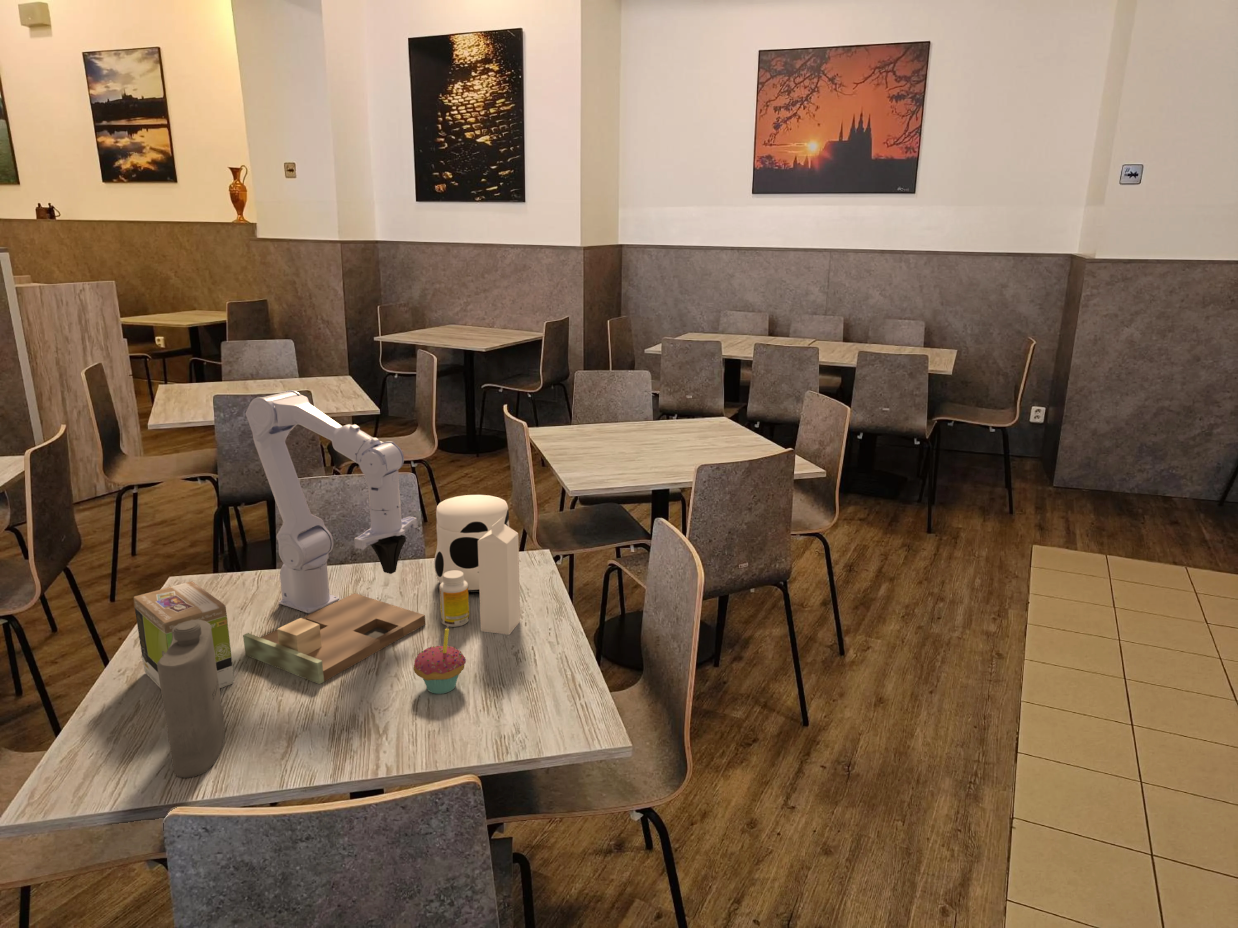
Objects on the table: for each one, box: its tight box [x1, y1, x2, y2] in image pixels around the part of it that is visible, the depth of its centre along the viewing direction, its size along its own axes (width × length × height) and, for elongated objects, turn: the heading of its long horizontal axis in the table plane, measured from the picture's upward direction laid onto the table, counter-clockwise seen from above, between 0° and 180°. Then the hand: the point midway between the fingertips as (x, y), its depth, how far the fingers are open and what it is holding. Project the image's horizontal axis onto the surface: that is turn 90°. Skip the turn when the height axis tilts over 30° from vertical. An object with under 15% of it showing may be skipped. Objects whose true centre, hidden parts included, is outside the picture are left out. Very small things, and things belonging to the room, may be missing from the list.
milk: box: [478, 517, 521, 636], centre depth 157 cm, size 6×6×22 cm
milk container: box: [433, 494, 510, 593], centre depth 177 cm, size 17×17×18 cm
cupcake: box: [413, 625, 467, 695], centre depth 136 cm, size 9×8×12 cm
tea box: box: [133, 581, 235, 689], centre depth 138 cm, size 15×10×15 cm, turn 47°
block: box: [276, 617, 322, 655], centre depth 145 cm, size 5×5×4 cm
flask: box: [157, 620, 226, 779], centre depth 118 cm, size 15×6×20 cm, turn 18°
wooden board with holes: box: [242, 592, 426, 685], centre depth 153 cm, size 20×26×4 cm
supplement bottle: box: [439, 570, 470, 628], centre depth 160 cm, size 6×6×10 cm
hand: (389, 571), depth 159 cm, fingers closed
